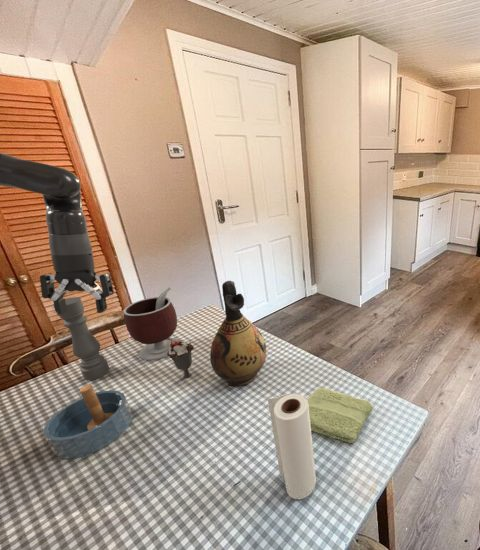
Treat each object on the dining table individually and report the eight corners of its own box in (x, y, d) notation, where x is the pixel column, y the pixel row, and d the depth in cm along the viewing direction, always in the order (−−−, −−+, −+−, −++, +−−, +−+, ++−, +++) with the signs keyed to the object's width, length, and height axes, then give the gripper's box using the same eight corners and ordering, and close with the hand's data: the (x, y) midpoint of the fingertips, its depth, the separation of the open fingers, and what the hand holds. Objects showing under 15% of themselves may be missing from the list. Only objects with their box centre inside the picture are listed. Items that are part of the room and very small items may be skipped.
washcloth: (317, 390, 87) (316, 381, 85) (374, 408, 80) (374, 399, 79) (289, 425, 75) (288, 415, 74) (353, 450, 69) (353, 440, 68)
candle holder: (106, 364, 98) (78, 294, 88) (113, 372, 94) (84, 300, 85) (81, 375, 93) (49, 302, 84) (87, 383, 90) (54, 309, 80)
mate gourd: (156, 365, 97) (138, 311, 89) (127, 356, 101) (107, 303, 94) (196, 339, 110) (184, 290, 103) (169, 332, 115) (155, 284, 107)
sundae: (169, 382, 90) (156, 340, 84) (189, 368, 95) (177, 327, 90) (186, 388, 88) (173, 344, 82) (205, 373, 93) (194, 332, 88)
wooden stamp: (83, 435, 72) (65, 397, 68) (97, 417, 77) (81, 381, 73) (107, 431, 73) (91, 394, 69) (120, 414, 78) (105, 378, 73)
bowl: (37, 468, 66) (24, 446, 63) (79, 415, 79) (70, 396, 76) (115, 453, 69) (105, 432, 66) (143, 405, 82) (136, 386, 79)
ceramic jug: (276, 379, 91) (263, 289, 79) (221, 402, 83) (198, 304, 71) (260, 351, 104) (246, 270, 92) (211, 368, 96) (189, 281, 84)
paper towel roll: (321, 489, 61) (313, 409, 53) (292, 507, 58) (279, 424, 50) (307, 461, 67) (298, 384, 59) (280, 475, 64) (267, 397, 56)
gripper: (24, 253, 71) (37, 319, 74) (96, 253, 74) (105, 316, 77) (48, 249, 78) (60, 309, 81) (113, 249, 81) (121, 307, 85)
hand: (82, 312), depth 79 cm, fingers open, 8 cm apart
